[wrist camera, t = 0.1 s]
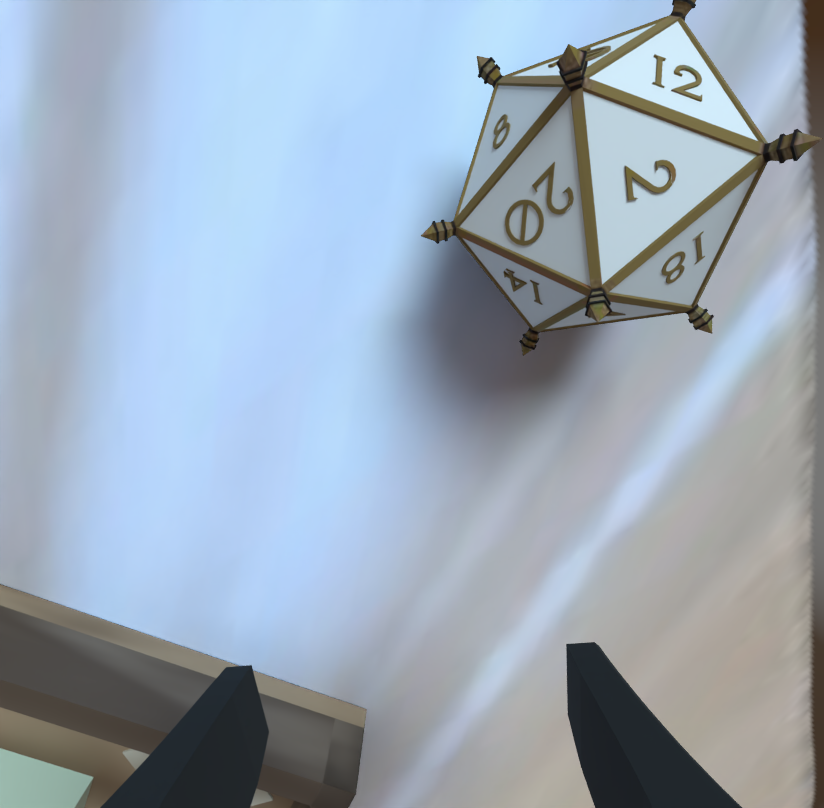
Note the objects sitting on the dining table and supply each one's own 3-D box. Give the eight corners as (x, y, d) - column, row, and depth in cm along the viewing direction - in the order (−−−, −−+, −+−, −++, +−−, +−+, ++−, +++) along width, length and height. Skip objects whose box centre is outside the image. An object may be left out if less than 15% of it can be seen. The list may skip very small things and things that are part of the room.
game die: (537, 263, 21) (519, 458, 16) (413, 88, 17) (323, 273, 11) (785, 141, 16) (900, 376, 10) (700, -167, 11) (820, -62, 6)
